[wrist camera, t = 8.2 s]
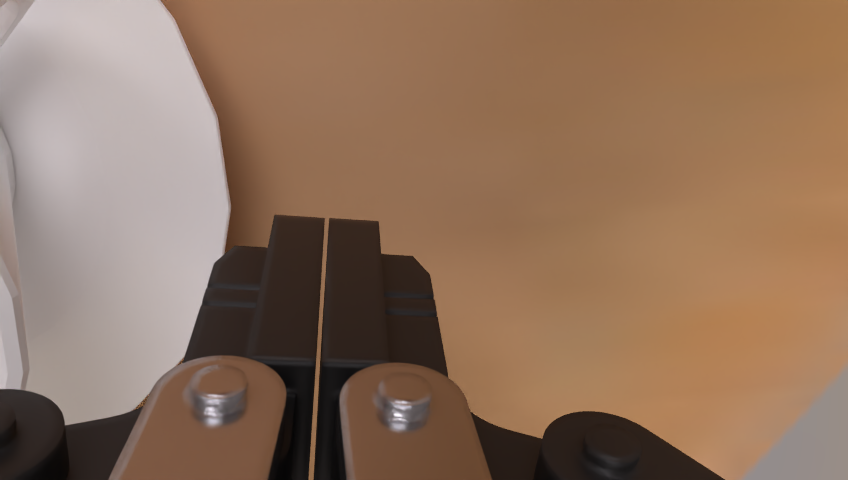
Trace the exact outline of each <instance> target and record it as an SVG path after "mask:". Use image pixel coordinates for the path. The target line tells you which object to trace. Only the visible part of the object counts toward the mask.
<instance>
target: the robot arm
mask: <svg viewBox="0 0 848 480" xmlns="http://www.w3.org/2000/svg"><path fill="white" fill-rule="evenodd" d="M324 222H325V218H317V217H302V216H286V215H275V216H274V220H273V225H272V230H271V235H270V240H269V245H268V248H266V247H249V246H234V247H233V248H232V249H230V250H229V251H228V252H227V253H225V254H224V255H223V256H222V257H221V258H219V259H218V260H217V261H216V262H215V263H214V265H213V268H212V271H211V274H210V278H209V281H208V286H207V288H206V290H205V294H204V297H203V300H202V306H200V309H199V313H198V316H197V319H196V322H195V325H194V328H193V332H192V335H191V338H190V341H189V344H188V347H187V351H186V354H185V357H184V360H183V363H182V364H180V365H178V366H176V367H174V368H172V369H171V370H169V371H168V372H166V373H165V374H164V375H162V377H161V378H160V379H159V380H158V381H157V382H156V383H155V385H154V386H153V388H152V390H151V392H150V394H149V396H148V398H147V400H146V402H145V404H144V406H143V407H140V408H138V409H136V410H133V411H130V412H127V413H124V414H121V415H117V416H113V417H108V418H103V419H97V420H92V421H86V422H81V423H75V424H70V425H65V421H64V417H63V414H62V411H61V410H60V408H59V407H58V405H56V404H55V403H54V402H53V401H52V400H50V399H48V398H47V397H45V396H43V395H40V394H37V393H34V392H30V391H25V390H17V389H0V480H308V477H309V462H310V446H311V431H312V415H313V400H314V384H315V369H316V353H317V337H318V321H319V305H320V289H321V272H322V256H323V239H324ZM433 298H434V294H433V289H432V283H431V278H430V274H429V273H428V272H427V271H426V270H425V269H424V268H423V267H422V266H421V265H420V263H419V262H418V261H417V260H416V259H415V258H414V257H413V256H404V255H387V254H381V246H380V232H379V222H378V221H366V220H351V219H335V218H329V230H328V245H327V261H326V277H325V293H324V308H323V324H322V341H321V358H320V376H319V394H318V411H317V429H316V447H315V465H314V480H725V479H723V478H722V477H720V476H718V475H717V474H715V473H714V472H712V471H711V470H709V469H708V468H706V467H705V466H703V465H701V464H700V463H698V462H697V461H695V460H694V459H692V458H691V457H689V456H687V455H686V454H684V453H683V452H681V451H680V450H678V449H677V448H675V447H673V446H672V445H670V444H669V443H667V442H666V441H664V440H663V439H661V438H659V437H658V436H656V435H655V434H653V433H652V432H650V431H649V430H647V429H645V428H644V427H642V426H640V425H638V424H637V423H634V422H632V421H630V420H628V419H625V418H622V417H619V416H616V415H612V414H608V413H602V412H594V411H582V412H575V413H570V414H567V415H564V416H562V417H559V418H557V419H556V420H555V421H553V422H552V423H551V424H550V425H549V426H548V427H547V429H546V430H545V433H544V435H543V438H542V439H541V438H537V437H533V436H529V435H526V434H522V433H518V432H514V431H511V430H507V429H504V428H501V427H498V426H495V425H493V424H491V423H488V422H486V421H484V420H483V419H481V418H479V417H477V416H476V415H474V414H473V413H472V412H470V409H469V406H468V403H467V400H466V398H465V395H464V393H463V392H462V391H461V389H460V388H459V387H458V386H457V385H456V384H455V383H454V382H453V381H452V380H451V379H449V378H448V372H447V366H446V361H445V355H444V350H443V344H442V339H441V333H440V328H439V322H438V317H437V311H436V305H435V300H434V299H433Z"/></svg>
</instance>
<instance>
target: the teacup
mask: <svg viewBox="0 0 848 480" xmlns="http://www.w3.org/2000/svg"><path fill="white" fill-rule="evenodd" d="M230 212H231V203H230V196H229V189H228V183H227V176H226V169H225V163H224V156H223V149H222V143H221V136H220V130H219V123H218V116H217V114H216V112H215V110H214V107H213V105H212V103H211V100H210V98H209V96H208V94H207V91H206V89H205V87H204V85H203V82H202V80H201V78H200V75H199V73H198V71H197V69H196V66H195V64H194V62H193V60H192V57H191V55H190V53H189V50H188V48H187V46H186V44H185V41H184V39H183V37H182V35H181V32H180V30H179V28H178V25H177V23H176V21H175V19H174V17H173V16H172V15H171V14H170V12H169V11H168V10H167V8H166V7H165V6H164V4H163V3H162V2H161V0H0V389H17V390H25V391H30V392H34V393H37V394H40V395H43V396H45V397H47V398H48V399H50V400H52V401H53V402H54V403H55V404H56V405H58V407H59V408H60V410H61V411H62V414H63V417H64V421H65V425H70V424H75V423H81V422H86V421H92V420H97V419H103V418H108V417H113V416H117V415H121V414H124V413H127V412H130V411H132V410H134V409H135V408H136V407H137V406H138V405H139V404H140V403H141V402H142V401H143V400H144V399H145V397H146V396H147V395H148V394H149V393H150V392H151V390H152V388H153V386H154V385H155V383H156V382H157V381H158V380H159V379H160V378H161V377H162V375H164V374H165V373H166V372H168V371H169V370H171V369H172V368H174V367H175V366H176V365H177V364H178V363H179V362H180V361H181V360H182V359H183V358H184V357H185V354H186V351H187V347H188V344H189V341H190V338H191V335H192V332H193V328H194V325H195V322H196V319H197V316H198V313H199V309H200V306H202V300H203V297H204V294H205V290H206V288H207V286H208V281H209V278H210V274H211V271H212V268H213V265H214V263H215V262H216V261H217V260H218V259H219V258H221V257H222V256H223V255H224V253H225V246H226V239H227V232H228V226H229V219H230Z"/></svg>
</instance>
